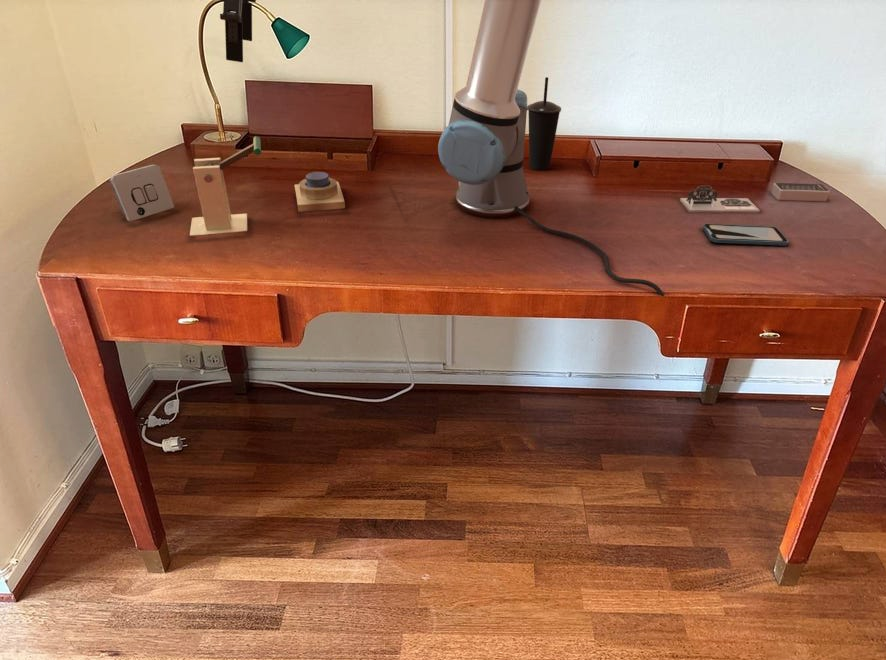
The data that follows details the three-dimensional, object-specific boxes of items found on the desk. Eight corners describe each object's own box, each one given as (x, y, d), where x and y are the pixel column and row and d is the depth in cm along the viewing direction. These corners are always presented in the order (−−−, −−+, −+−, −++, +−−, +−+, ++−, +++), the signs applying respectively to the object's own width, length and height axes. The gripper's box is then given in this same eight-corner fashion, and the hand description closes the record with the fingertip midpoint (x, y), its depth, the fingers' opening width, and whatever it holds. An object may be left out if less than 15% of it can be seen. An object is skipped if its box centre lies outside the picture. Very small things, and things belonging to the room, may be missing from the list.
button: (328, 180, 139) (327, 171, 138) (330, 188, 136) (329, 178, 135) (306, 181, 138) (305, 172, 137) (307, 189, 135) (306, 180, 134)
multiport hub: (770, 192, 153) (773, 182, 151) (819, 193, 153) (822, 183, 152) (777, 199, 149) (780, 189, 148) (827, 201, 149) (830, 191, 148)
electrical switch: (131, 227, 128) (115, 178, 123) (118, 222, 131) (101, 173, 126) (177, 212, 134) (163, 165, 129) (163, 208, 137) (149, 161, 132)
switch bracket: (248, 219, 133) (236, 153, 125) (248, 236, 126) (236, 168, 119) (193, 223, 130) (178, 157, 123) (190, 241, 124) (174, 172, 116)
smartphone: (790, 242, 129) (712, 239, 129) (789, 247, 130) (711, 244, 129) (776, 226, 135) (701, 223, 135) (774, 230, 136) (700, 227, 135)
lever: (263, 143, 125) (255, 132, 123) (264, 156, 119) (256, 144, 118) (207, 175, 125) (198, 164, 124) (205, 189, 120) (196, 178, 118)
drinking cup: (539, 159, 166) (547, 72, 155) (562, 168, 161) (571, 79, 150) (516, 165, 162) (522, 76, 151) (538, 174, 157) (546, 83, 146)
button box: (339, 192, 145) (337, 172, 142) (345, 213, 136) (343, 191, 134) (296, 195, 143) (293, 175, 140) (299, 216, 134) (296, 195, 132)
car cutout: (689, 212, 142) (694, 191, 140) (679, 199, 148) (684, 179, 145) (759, 212, 143) (765, 192, 141) (747, 200, 149) (752, 180, 146)
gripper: (224, -101, 120) (227, 28, 133) (199, -82, 101) (206, 66, 114) (268, -92, 122) (268, 35, 135) (252, -71, 103) (253, 74, 115)
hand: (239, 49), depth 124 cm, fingers open, 13 cm apart
